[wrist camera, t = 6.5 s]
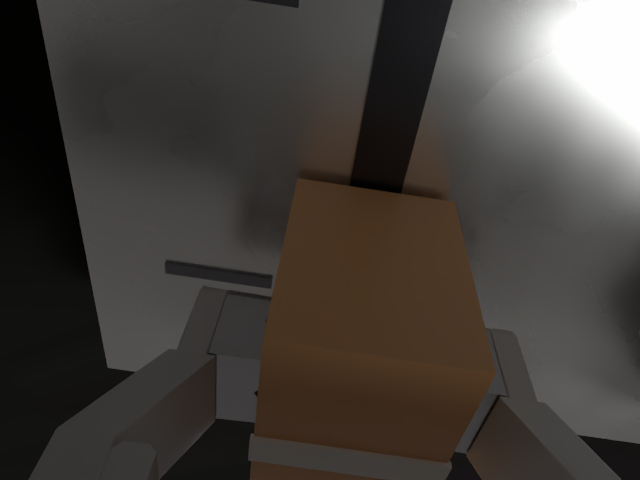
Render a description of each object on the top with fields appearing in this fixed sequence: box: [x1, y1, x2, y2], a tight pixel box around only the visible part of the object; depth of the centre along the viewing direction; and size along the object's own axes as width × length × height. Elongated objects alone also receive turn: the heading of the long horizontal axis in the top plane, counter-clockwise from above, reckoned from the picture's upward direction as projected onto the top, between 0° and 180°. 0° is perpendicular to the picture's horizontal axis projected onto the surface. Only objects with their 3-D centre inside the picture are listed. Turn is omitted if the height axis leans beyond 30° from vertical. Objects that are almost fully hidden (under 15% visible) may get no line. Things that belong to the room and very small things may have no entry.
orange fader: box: [248, 178, 496, 480], centre depth 10 cm, size 5×3×4 cm, turn 173°
